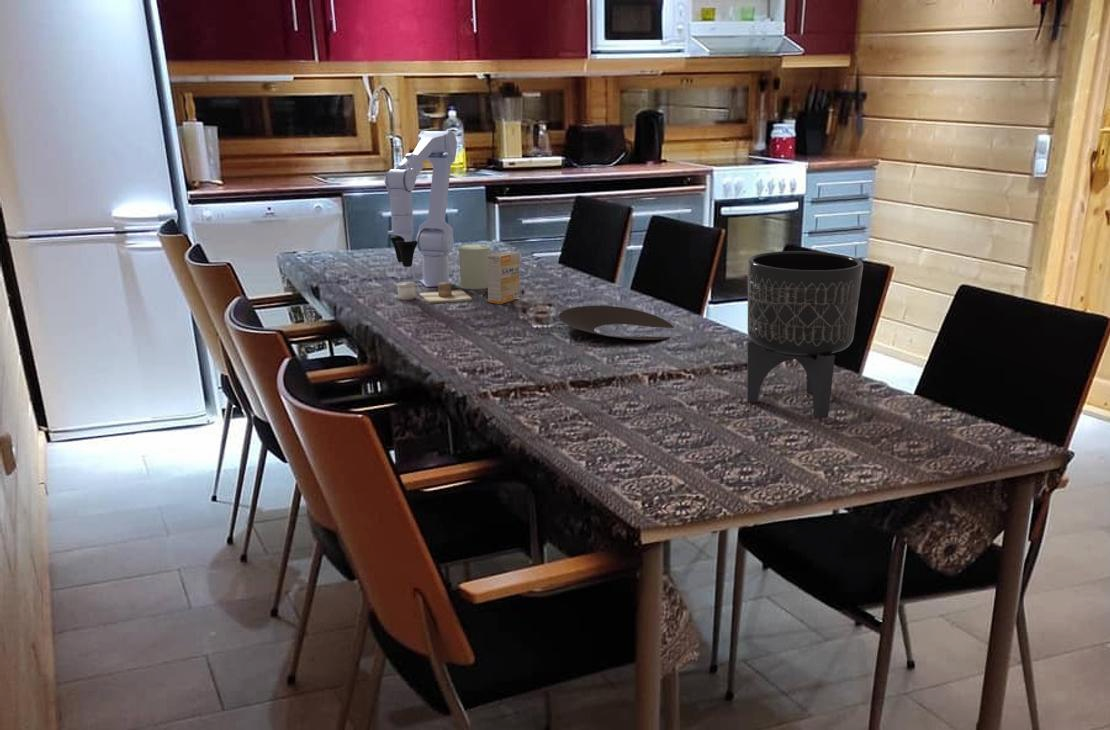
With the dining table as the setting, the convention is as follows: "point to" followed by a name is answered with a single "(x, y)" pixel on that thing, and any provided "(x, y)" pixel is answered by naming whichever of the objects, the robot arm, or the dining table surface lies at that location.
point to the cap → (406, 290)
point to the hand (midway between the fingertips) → (404, 264)
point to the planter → (800, 316)
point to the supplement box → (503, 277)
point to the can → (474, 266)
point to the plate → (611, 319)
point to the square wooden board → (445, 295)
